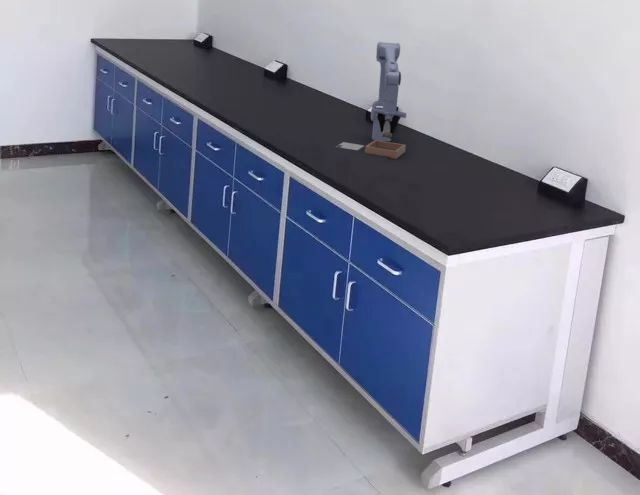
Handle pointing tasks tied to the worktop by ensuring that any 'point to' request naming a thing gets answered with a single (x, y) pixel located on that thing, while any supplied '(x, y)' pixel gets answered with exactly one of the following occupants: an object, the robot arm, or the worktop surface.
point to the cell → (387, 128)
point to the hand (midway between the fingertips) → (387, 132)
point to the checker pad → (350, 146)
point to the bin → (385, 152)
